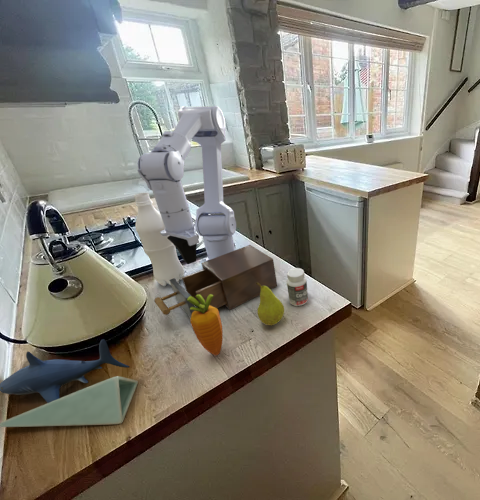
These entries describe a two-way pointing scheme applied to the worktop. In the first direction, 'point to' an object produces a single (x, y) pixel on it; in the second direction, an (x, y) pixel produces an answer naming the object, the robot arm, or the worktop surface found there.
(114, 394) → the hollow green wedge
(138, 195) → the water bottle
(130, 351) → the worktop surface
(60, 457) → the worktop surface
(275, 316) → the fruit
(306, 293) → the pill bottle
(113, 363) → the toy
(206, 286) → the drawer
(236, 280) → the cabinet
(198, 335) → the carrot
